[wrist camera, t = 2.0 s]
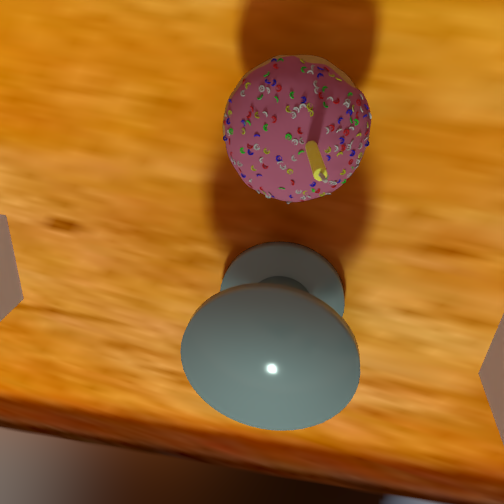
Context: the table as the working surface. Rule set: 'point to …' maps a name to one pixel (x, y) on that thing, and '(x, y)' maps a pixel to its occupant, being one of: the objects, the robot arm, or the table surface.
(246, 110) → the cupcake
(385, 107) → the table surface
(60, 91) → the table surface
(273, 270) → the cake stand
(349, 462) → the table surface
